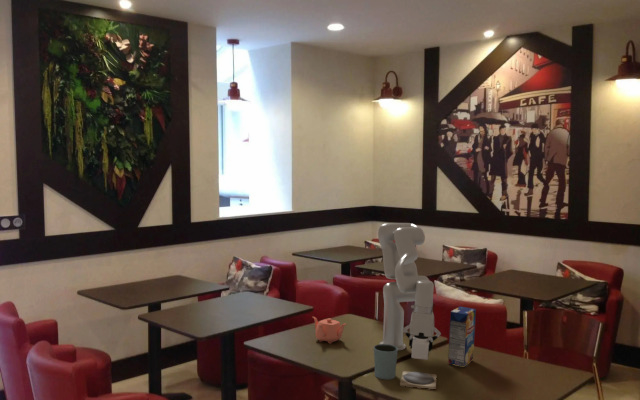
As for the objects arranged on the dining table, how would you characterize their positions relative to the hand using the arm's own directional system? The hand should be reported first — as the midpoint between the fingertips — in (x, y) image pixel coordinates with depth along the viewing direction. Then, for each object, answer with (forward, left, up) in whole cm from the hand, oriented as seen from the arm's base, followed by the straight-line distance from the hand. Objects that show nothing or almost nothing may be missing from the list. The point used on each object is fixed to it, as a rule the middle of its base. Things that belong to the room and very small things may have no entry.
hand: (420, 348), depth 254 cm
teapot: (-25, -46, -10) cm, 54 cm away
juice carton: (-15, +18, -10) cm, 25 cm away
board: (+14, 0, -9) cm, 17 cm away
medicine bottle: (0, 0, -4) cm, 4 cm away
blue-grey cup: (+12, -14, -10) cm, 20 cm away
